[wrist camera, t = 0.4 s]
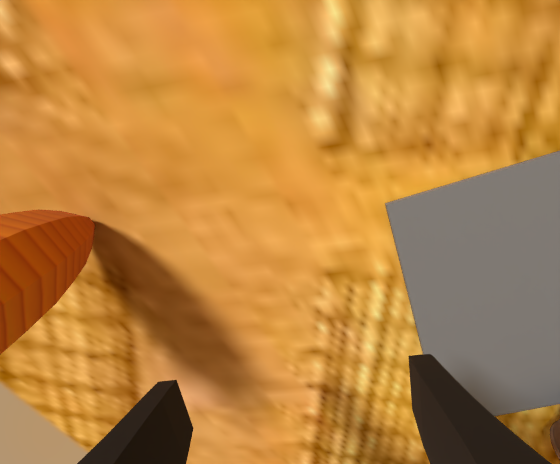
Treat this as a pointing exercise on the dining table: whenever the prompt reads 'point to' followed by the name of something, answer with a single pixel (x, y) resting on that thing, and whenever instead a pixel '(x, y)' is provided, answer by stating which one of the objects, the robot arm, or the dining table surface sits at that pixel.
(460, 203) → the mat
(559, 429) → the tin
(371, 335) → the dining table surface
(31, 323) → the carrot
